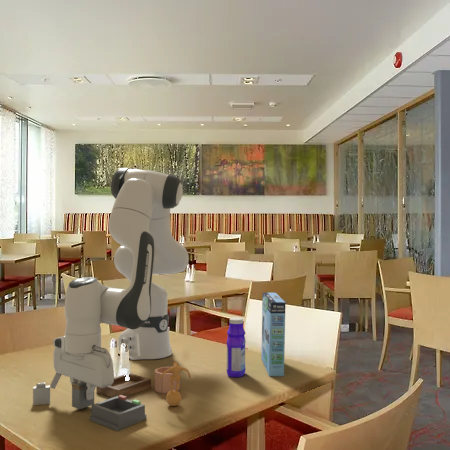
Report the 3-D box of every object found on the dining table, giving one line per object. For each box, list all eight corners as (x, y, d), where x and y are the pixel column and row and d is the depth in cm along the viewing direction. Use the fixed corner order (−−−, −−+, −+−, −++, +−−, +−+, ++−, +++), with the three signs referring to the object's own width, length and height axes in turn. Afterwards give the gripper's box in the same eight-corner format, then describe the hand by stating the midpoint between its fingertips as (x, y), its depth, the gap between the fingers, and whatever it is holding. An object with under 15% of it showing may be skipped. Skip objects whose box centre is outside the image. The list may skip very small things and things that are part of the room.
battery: (72, 406, 132) (72, 381, 132) (86, 401, 136) (86, 376, 135) (79, 409, 130) (79, 383, 130) (94, 404, 134) (94, 379, 134)
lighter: (32, 405, 135) (32, 374, 135) (33, 402, 137) (33, 372, 137) (61, 402, 137) (61, 372, 137) (62, 400, 139) (62, 370, 139)
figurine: (187, 401, 139) (187, 356, 138) (193, 409, 133) (193, 362, 132) (156, 404, 136) (156, 358, 136) (160, 413, 130) (160, 365, 130)
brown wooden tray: (96, 392, 145) (96, 383, 145) (129, 381, 155) (129, 373, 155) (118, 399, 140) (118, 390, 140) (150, 387, 149) (150, 379, 149)
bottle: (243, 379, 158) (243, 321, 157) (224, 377, 159) (224, 320, 158) (247, 371, 165) (247, 316, 164) (229, 370, 166) (229, 315, 165)
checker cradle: (89, 420, 126) (89, 403, 125) (118, 409, 133) (118, 393, 133) (117, 430, 119) (117, 413, 119) (146, 418, 127) (146, 402, 126)
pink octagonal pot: (149, 389, 147) (149, 370, 147) (167, 383, 153) (167, 365, 153) (167, 395, 143) (167, 375, 143) (184, 388, 148) (184, 369, 148)
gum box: (261, 359, 179) (261, 292, 179) (276, 359, 180) (276, 292, 179) (268, 376, 160) (269, 301, 159) (285, 376, 160) (286, 301, 160)
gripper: (120, 346, 129) (120, 402, 129) (69, 334, 141) (69, 385, 142) (99, 352, 124) (99, 410, 124) (48, 338, 136) (49, 391, 137)
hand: (83, 396), depth 133 cm, fingers closed on battery, 3 cm apart
